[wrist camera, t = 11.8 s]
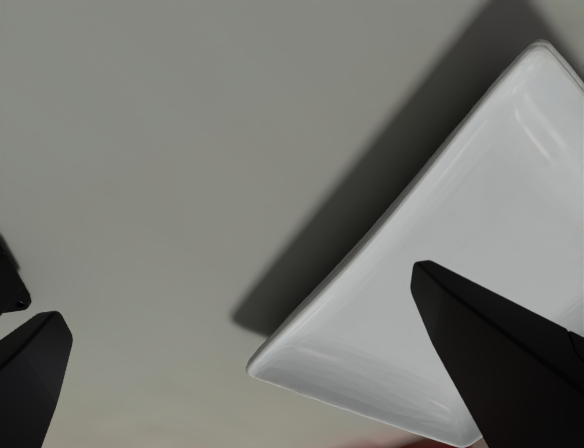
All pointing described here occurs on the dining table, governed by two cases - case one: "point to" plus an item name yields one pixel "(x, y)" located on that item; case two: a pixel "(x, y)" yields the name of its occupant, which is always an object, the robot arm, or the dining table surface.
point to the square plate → (450, 256)
